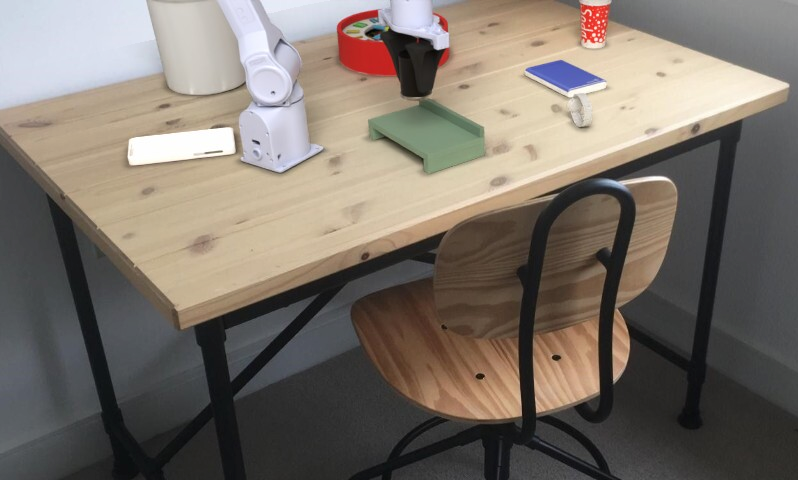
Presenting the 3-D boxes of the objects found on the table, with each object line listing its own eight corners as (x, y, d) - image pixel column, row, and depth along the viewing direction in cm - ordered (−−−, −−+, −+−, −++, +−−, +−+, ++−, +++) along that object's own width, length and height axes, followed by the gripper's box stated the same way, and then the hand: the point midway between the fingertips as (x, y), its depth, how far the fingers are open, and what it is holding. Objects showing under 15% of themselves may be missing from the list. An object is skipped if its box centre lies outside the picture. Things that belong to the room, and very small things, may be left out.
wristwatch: (582, 118, 153) (583, 88, 150) (595, 130, 149) (597, 99, 146) (565, 120, 152) (566, 90, 149) (578, 132, 148) (579, 102, 145)
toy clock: (468, 17, 177) (408, 49, 162) (469, 48, 180) (411, 83, 166) (378, 2, 185) (313, 32, 170) (380, 32, 188) (317, 64, 173)
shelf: (428, 174, 136) (427, 145, 134) (369, 137, 147) (366, 110, 144) (484, 155, 142) (484, 127, 139) (423, 121, 152) (422, 94, 149)
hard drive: (606, 79, 163) (562, 58, 171) (568, 89, 159) (525, 67, 167) (606, 88, 164) (562, 67, 172) (568, 98, 160) (525, 76, 168)
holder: (420, 103, 135) (417, 61, 131) (393, 97, 137) (390, 55, 133) (438, 93, 138) (437, 52, 135) (412, 86, 140) (410, 46, 137)
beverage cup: (572, 41, 184) (575, -35, 176) (602, 37, 185) (606, -37, 178) (583, 51, 179) (587, -26, 171) (614, 48, 181) (618, -29, 173)
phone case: (233, 134, 148) (131, 146, 144) (232, 126, 147) (129, 137, 143) (236, 154, 142) (129, 166, 138) (234, 145, 141) (127, 158, 138)
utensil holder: (199, 104, 158) (178, -4, 148) (144, 84, 165) (121, -20, 155) (269, 78, 168) (253, -25, 158) (214, 60, 175) (196, -39, 165)
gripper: (466, -5, 126) (469, 94, 134) (405, -28, 136) (410, 65, 143) (422, 5, 123) (427, 106, 130) (362, -20, 132) (370, 76, 140)
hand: (416, 85), depth 137 cm, fingers closed on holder, 4 cm apart
